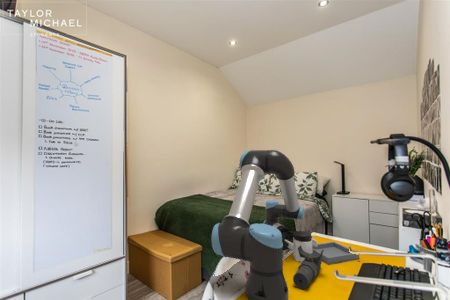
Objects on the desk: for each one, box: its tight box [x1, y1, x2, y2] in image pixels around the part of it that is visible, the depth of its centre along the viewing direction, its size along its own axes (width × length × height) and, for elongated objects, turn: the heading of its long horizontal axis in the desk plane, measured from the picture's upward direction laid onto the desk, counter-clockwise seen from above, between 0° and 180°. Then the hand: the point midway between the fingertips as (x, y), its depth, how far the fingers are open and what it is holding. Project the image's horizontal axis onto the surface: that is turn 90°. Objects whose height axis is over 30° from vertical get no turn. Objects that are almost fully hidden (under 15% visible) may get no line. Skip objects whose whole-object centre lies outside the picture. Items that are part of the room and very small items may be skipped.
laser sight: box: [292, 245, 324, 290], centre depth 96 cm, size 10×22×10 cm, turn 146°
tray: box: [312, 241, 360, 266], centre depth 116 cm, size 18×16×3 cm
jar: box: [292, 230, 313, 263], centre depth 112 cm, size 9×8×12 cm
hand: (305, 245), depth 110 cm, fingers open, 12 cm apart
